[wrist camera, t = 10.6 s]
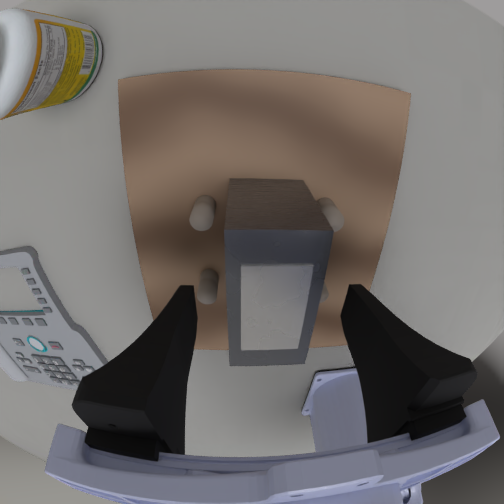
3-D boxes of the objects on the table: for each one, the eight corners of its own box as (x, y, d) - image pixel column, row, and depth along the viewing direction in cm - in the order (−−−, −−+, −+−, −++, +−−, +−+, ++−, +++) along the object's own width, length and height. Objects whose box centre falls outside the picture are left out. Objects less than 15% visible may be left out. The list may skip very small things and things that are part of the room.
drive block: (290, 293, 20) (304, 365, 15) (231, 293, 20) (229, 367, 14) (303, 179, 16) (334, 232, 10) (229, 178, 15) (224, 231, 10)
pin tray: (346, 336, 24) (355, 362, 22) (163, 338, 23) (157, 366, 21) (402, 92, 14) (430, 96, 11) (124, 79, 13) (102, 79, 10)
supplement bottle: (121, 54, 12) (5, 42, 4) (65, 120, 14) (-51, 170, 5) (74, 8, 10) (-37, -15, 1) (24, 73, 11) (-88, 98, 3)
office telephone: (6, 383, 28) (-70, 276, 17) (13, 370, 30) (-59, 264, 19) (127, 406, 27) (26, 257, 16) (131, 388, 29) (43, 239, 18)
